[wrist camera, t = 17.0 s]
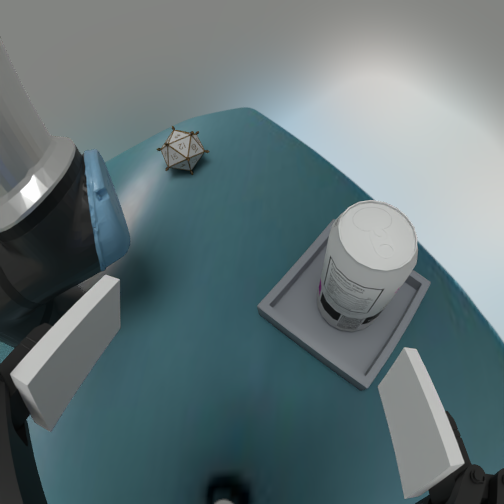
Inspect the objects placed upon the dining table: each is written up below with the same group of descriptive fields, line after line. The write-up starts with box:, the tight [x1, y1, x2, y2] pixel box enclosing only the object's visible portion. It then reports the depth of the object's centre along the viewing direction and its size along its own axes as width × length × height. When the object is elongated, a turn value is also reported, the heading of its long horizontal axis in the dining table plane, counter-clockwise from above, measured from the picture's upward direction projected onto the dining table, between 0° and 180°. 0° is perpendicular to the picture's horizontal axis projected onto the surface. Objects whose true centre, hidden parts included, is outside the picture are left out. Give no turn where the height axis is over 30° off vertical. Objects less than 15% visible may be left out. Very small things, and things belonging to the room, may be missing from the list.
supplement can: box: [317, 200, 418, 332], centre depth 29 cm, size 8×8×15 cm
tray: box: [257, 219, 431, 391], centre depth 35 cm, size 16×16×3 cm
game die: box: [157, 126, 209, 175], centre depth 50 cm, size 9×8×10 cm
